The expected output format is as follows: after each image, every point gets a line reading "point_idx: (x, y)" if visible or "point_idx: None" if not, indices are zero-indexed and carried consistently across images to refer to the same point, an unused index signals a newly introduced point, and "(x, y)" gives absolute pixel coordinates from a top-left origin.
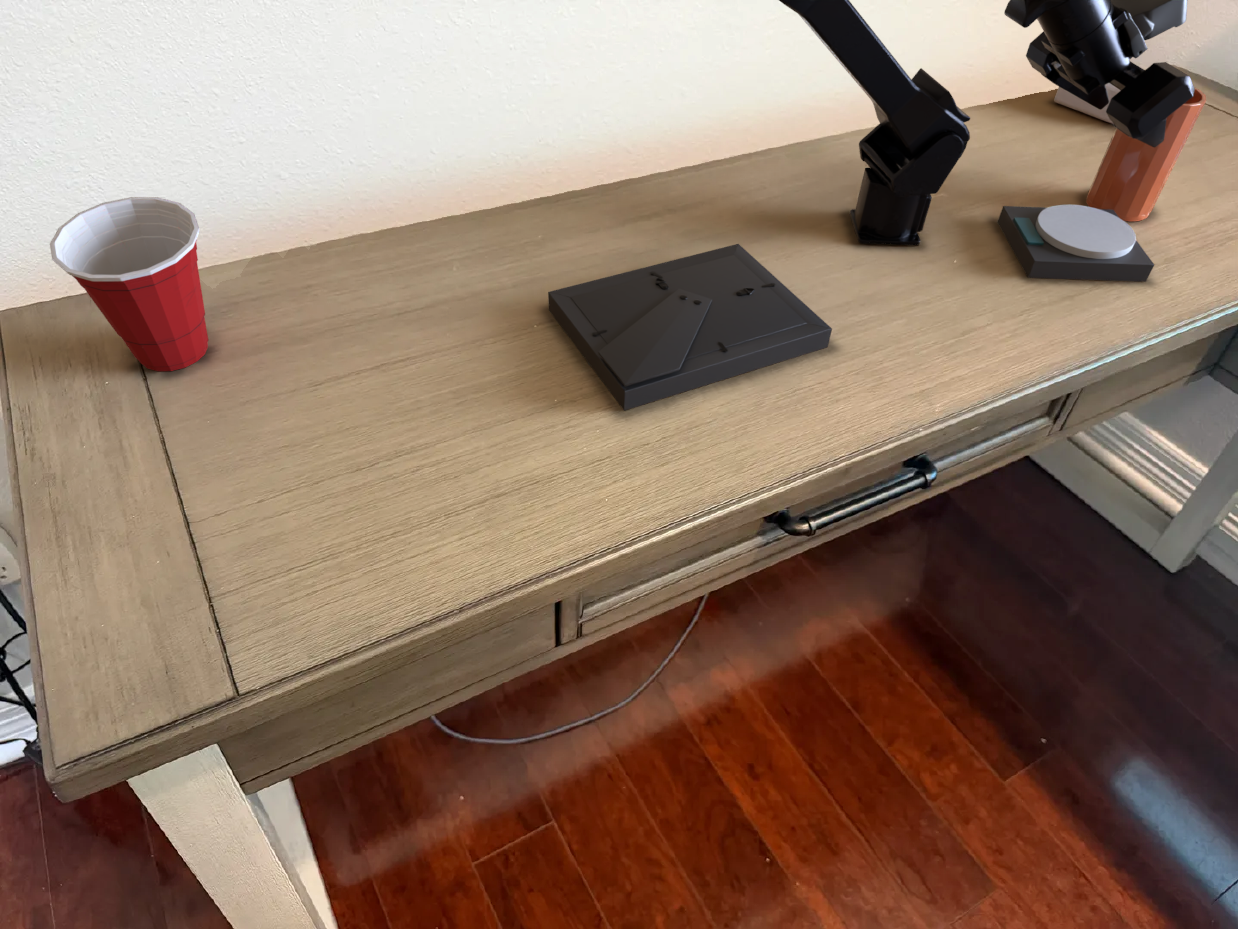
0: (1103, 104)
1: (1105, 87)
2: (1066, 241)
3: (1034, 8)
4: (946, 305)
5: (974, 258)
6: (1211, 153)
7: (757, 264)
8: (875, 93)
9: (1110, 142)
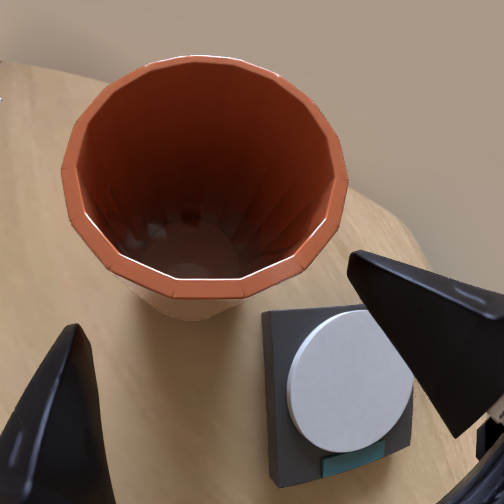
0: (85, 343)
1: (66, 372)
2: (396, 415)
3: None
4: (423, 496)
5: (358, 493)
6: (55, 85)
7: None
8: None
9: (161, 308)
